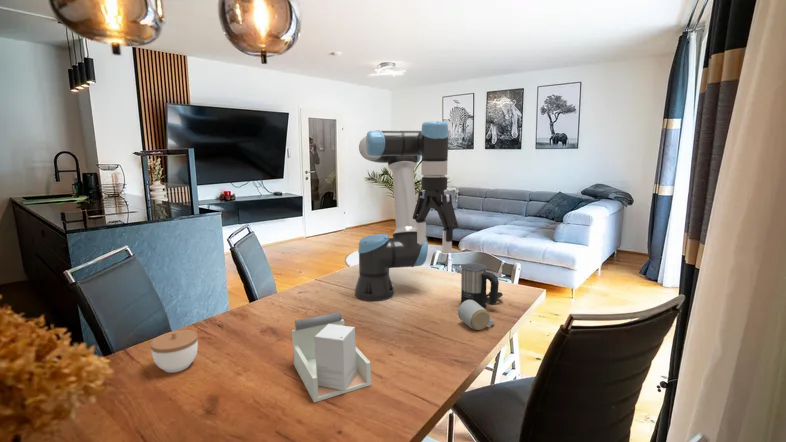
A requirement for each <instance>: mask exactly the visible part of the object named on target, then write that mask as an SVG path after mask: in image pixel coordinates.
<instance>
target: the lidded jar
mask: <svg viewBox="0 0 786 442" xmlns="http://www.w3.org/2000/svg"><path fill="white" fill-rule="evenodd" d="M198 339H199V337H198V333H197V332H196V331H194V330H191V329H180V330H178V329H177V330H174V331H169V332H166V333H163V334H161V335H158V336H157V337H155V338H154V339H153V340H152V341H150V344H149V345H150V350H151V356H152V359H153V361H154V364H155V365H156V366H157V367H158V368H159V369H160V370H163V371H164V372H165V373H172V374H173V373H178V372H182V371H185V370H186V369H188V368H189V367H190V365H191V364H192V363H193V361H194V360H195V359H196V357H197V354H198V347H199V341H198Z"/></svg>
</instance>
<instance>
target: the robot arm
mask: <svg viewBox="0 0 786 442" xmlns="http://www.w3.org/2000/svg"><path fill="white" fill-rule="evenodd" d="M448 145H449V124H448V123H447V122H446V121H439V120H438V121H437V120H435V121H433V120H432V121H424V122H422V125H421V129H420V130H380V129H379V130H378V129H376V130H369V131H367V133H366V136H364V137H363V138H362V139H361V140H360V141H359V144H358V151H359V153H360V156H362V158H364V159H365V160H367V161H370V162H372V163H380V164H385V163H386V164H387V165H388V169H389V170H390V171H391V172H392V183H393V184H392V187H393V199H394V200H393V202H394V214H395V216H394V218H395V230H394V231H393V232H392V237H390V236H389V235H388V234H387V233H375V234H371V235H367V236H365V237H363V238H361V239H360V240H359V242H358V251H357V252H358V266H359V269H358V278H357V281H356V285H355V288H354V295H355V297H356V298H357V299H359V300H362V301H369V302H370V301H371V302H377V301H379V302H380V301H385V300H388V299H390V298H392V297H393V296H394V294H395V293H394V291H395V290H394V289H395V288H394V286H393V282H392V279H391V277H390V269H393V268H414V267H421V266H423V265H424V264H425V262H426V261H427V258H428V251H429V243H428V238H427V236H426V235H427V223H426V222H427V221H426V218H427V217H428V215H429V213H430V210H431V209H434V210H435V212H437V214H438V217H439V218H440V222H441V223H442V226H443V229H442V244H441V246H442V248H441V249H442V252H441V253H443V254H446V253H452V251H453V248H452V247H453V239H454V238H453V237H454V235H453V233H454V232H453V231H454V230H455V229H458V228H459V224H458V221H457V216H456V213H455V209H454V206H453V197H452V194H451V193H450V194H445V191H446V190H447V189H448V177H447V175H448V160H449V159H448V157H449V150H448V149H449V146H448ZM420 161H421V166H420V167H421V176H422V177H421V179H420V180H421V182H420V183H421V184H420V185H421V188H420V189H421V191H418V192H417V193H418V194H417V200H416V188H415V187H416V186H415V175H414V173H415V172H414V169H416V167H417V165H418V164H417V163H419V162H420Z"/></svg>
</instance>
